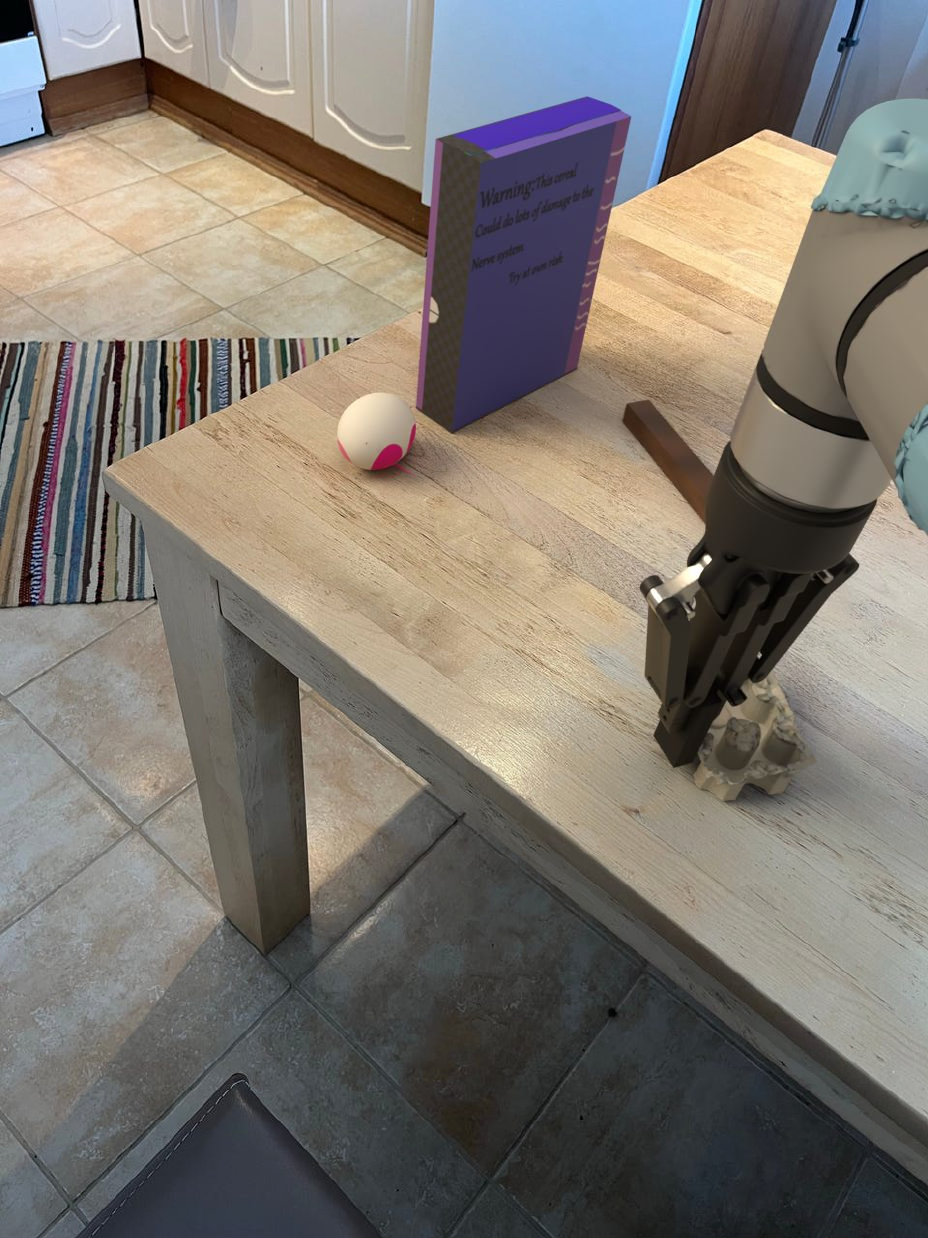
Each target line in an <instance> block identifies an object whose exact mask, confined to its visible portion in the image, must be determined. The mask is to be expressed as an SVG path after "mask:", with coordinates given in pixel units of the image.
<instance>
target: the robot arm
mask: <svg viewBox="0 0 928 1238" xmlns="http://www.w3.org/2000/svg"><path fill="white" fill-rule="evenodd" d="M839 147H840V148H839V150H838V152H837V154H836V157H835V159H834V162H833V164H832V166H831V168H830V171H829V173H828V176H827V177H826V181H824V182H825V183H824V185H823V187H822V189H821V191H820V193H819V194H817V196H815V197H814V198H813V199H812V203H811V205H810V209H811V213H810V215H809V217H808V221H807V224H806V227H805V229H804V231H803V234H802V235H803V236H802V238H801V241H800V244H799V246H798V248H797V252H796V254H795V257H794V260H793V263H792V265H791V268H790V271H789V273H788V277H787V279H786V282H785V285H784V287H783V291H782V293H781V296H780V299H779V302H778V304H777V307H776V310H775V313H774V315H773V318H772V321H771V324H770V326H769V329H768V332H767V335H766V338H765V340H764V343H763V348H762V350H761V351H760V352H761V353H760V355H759V358H758V360H757V363H756V366H755V368H754V370H753V373H752V375H751V378H750V381H749V384H748V385H747V389H746V391H745V394H744V396H743V399H742V401H741V403H740V408H739V410H738V412H737V415H736V417H735V421H734V422H733V426H732V428H731V431H730V434H729V436H730V439H729V441H728V442H727V443H726V444H725V446H724V448H723V451H722V453H721V456H720V458H719V460H718V463H717V466H716V468H715V472H714V474H713V475H714V476H713V479H712V482H711V484H710V487H709V490H708V492H707V495H706V499H705V523H704V524H705V525H704V526H705V527H704V533H703V535H702V537H701V539H700V540H699V541H698V542H697V543H696V544H695V546H694V547H693V548H692V550H690V552H689V554H688V556H687V559H686V568H685V569H683V570H682V571H680V572H679V573H677V574H676V575H674V576H672V577H671V578H669V579H668V580H666V581H665V582H664V581H663V580H662V578H661V577H660V576H659V575H658V574H657V575H656V574H653V575H650V576H647V577H646V578H645V579H644V580H642V581H641V583H640V584H639V586H638V587H639V591H640V592H641V594H642V596H643V598H644V599H645V601H646V603H647V604H648V606H647V607H648V608H647V623H646V639H645V640H646V643H645V658H644V659H645V660H644V678H645V679H646V681H647V682H648V684H649V686H650V688H651V689H652V691H654V693H655V695H656V696H657V697H658V700H660V702H661V705H660V707H659V709H658V712H657V716H658V719H659V721H658V723H657V726H656V727H655V731H654V732H653V735H652V736H653V738H654V740H655V741H656V743H657V744H658V746H659V748H660V749H661V751H662V753H663V755H665V757H666V759H667V760H668V761H669V764H670V765H671V766H672V768H673V769H677V768H681V767H682V766H686V765H689V764H691V763H692V764H693V763H694V761H695V758H696V757H697V756H698V751H699V749H700V747H701V745H702V743H703V741H704V739H705V737H706V735H707V733H708V730H709V728H710V726H711V724H712V722H713V720H715V719H716V718H717V717H718V716H719V715H720V713H721V711H722V709H723V707H724V705H725V703H726V701H728V702H729V704H730V705H731V706H732V707H735V706H738V705H740V704H742V703H743V702H744V701H746V699H747V698H748V697H747V696H746V695H745V693H744V692H743V691H742V689H741V687H742V685H743V683H744V681H746V680H748V679H750V680H751V682H752V683H759V682H760V681H763V680H764V679H765V678H766V677H767V676H768V675H769V673H770V672H771V671H772V670H773V669H774V668H775V667H776V666H777V664H778V663H779V662H780V661H781V659H782V658H783V657H784V655H785V654H787V652H788V651H789V649H790V648H791V647H792V645H793V644H794V643H795V641H796V640H797V639H798V637H800V635H801V634H802V633H803V631H804V630H805V628H806V627H807V626H808V625H809V623H811V621H812V620H813V618H814V617H815V616H816V615H817V613H818V612H819V611H820V609H821V608H822V607H823V605H824V604H825V603H826V602H827V601H828V600H829V598H830V597H831V595H832V594H834V593H835V591H837V590H838V589H839V588H840V587H841V586H842V585H844V583H846V582H847V581H848V580H849V579H850V578H851V577H852V576H853V575H854V574H855V573H856V572H857V571H858V570H859V568H860V563H859V562H858V561H857V560H856V558H854V557H853V555H852V554H851V551H852V550H853V547H854V546H855V544H856V542H857V540H858V539H859V537H860V535H861V533H862V531H863V530H864V528H865V526H866V524H867V523H868V521H869V519H870V517H871V515H872V513H873V512H874V510H875V507H876V505H877V503H878V499H879V498H881V496H882V495H883V494H884V493H885V491H886V490H887V489H888V488H889V485H890V483H891V482H893V484H894V486H895V487H896V490H897V497H898V499H899V500H900V501H901V502H902V504H903V505H902V507H903V509H904V510H905V511H906V513H907V515H908V517H909V520H910V521H911V522H912V523H914V524H915V526H916V528H917V529H918V530H920V531H923V532H924V533H925V534H926V536H927V537H928V99H927V98H901V99H893V100H888V101H883V102H881V103H878V104H876V105H873V106H872V107H869V108H867V109H866V110H865V111H864V112H862V113H861V114H859V115H858V116H857V117H856V118H855V119H854V121H853V122H852V123H851V124H850V126H849V128H848V130H847V131H846V134H845V136H844V138H843V140H842V143H841V145H840V146H839ZM694 603H695V606H694V607H693V605H694ZM759 654H760V656H761V657H760V658H759V657H758V656H757V655H759Z"/></svg>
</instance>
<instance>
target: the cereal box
mask: <svg viewBox="0 0 928 1238" xmlns="http://www.w3.org/2000/svg"><path fill="white" fill-rule="evenodd" d="M631 120H632V116H631V115H630V114H628V113H626V112H625V111H623V110H622V109H620V108H618V107H617V106H615V105H613V104H611V103H608V102H605V101H602V100H599V99H596V98H594V97H591V96H587V95H586V96H583V97H580V98H576V99H573V100H569V101H566V102H563V103H558V104H555V105H552V106H551V105H550V106H548V107H544V108H541V109H537V110H533V111H529V112H526V113H523V114H519V115H516V116H512V117H508V118H505V119H501V120H498V121H495V122H490V123H487V124H484V125H480V126H476V127H472V128H469V129H465V130H463V131H458V132H454V133H452V134H448V135H443V136H441V137H436V138H435V140H434V141H435V143H434V155H433V156H434V157H433V169H432V184H431V197H430V210H429V211H430V212H429V224H428V237H427V238H428V239H427V252H426V262H425V263H426V264H425V265H426V266H425V278H424V279H425V280H424V292H423V303H422V304H423V306H422V318H421V331H420V333H421V335H420V347H419V360H418V371H417V372H418V373H417V385H416V400H415V410H417V411H419V412H420V413H422V414H423V415H425V416H426V417H428V418H429V419H430V420H432V422H434V423H436V424H437V425H439V426H440V427H442V428H443V429H444V430H446V431H447V432H449V433H450V434H454V433H456V432H458V431H460V430H461V429H464V428H466V427H467V426H470V425H472V424H473V423H475V422H478V421H479V420H481V419H484V418H485V417H487V416H489V415H491V414H493V413H495V412H497V411H498V410H501V409H503V408H504V407H507V406H508V405H510V404H512V403H514V402H516V401H518V400H519V399H522V398H524V397H526V396H527V395H530V394H532V393H534V392H535V391H538V390H540V389H541V388H544V387H545V386H547V385H549V384H551V383H553V382H555V381H557V380H559V379H561V378H563V377H565V376H567V375H569V374H571V373H573V372H575V371H577V369H578V366H579V361H580V356H581V352H582V348H583V343H584V338H585V334H586V330H587V329H586V328H587V325H588V320H589V314H590V311H591V306H592V301H593V297H594V292H595V288H596V282H597V278H598V273H599V270H600V264H601V259H602V255H603V250H604V245H605V241H606V236H607V233H608V232H607V231H608V227H609V222H610V217H611V214H612V209H613V204H614V199H615V195H616V189H617V187H618V186H617V185H618V181H619V177H620V171H621V167H622V162H623V159H624V153H625V148H626V143H627V139H628V135H629V129H630V125H631Z"/></svg>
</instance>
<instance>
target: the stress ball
mask: <svg viewBox="0 0 928 1238" xmlns="http://www.w3.org/2000/svg"><path fill="white" fill-rule="evenodd" d="M412 408H413V405H411V406H410V405H409V404H408V403H407V402H406V401H405V400H404V399H403V398H401V397H399V396H397V395H395V394H393V393H389V392H371V393H367V394H365V395H363V396H361V397H359V398H358V399H356V400H354V401H353V402H352V403H351V404H350V405H349V406H348V407H347V408H346V409H345V411H344V412H343V413H342V415H341V417H340V420H339V422H338V426H337V431H336V438H337V444H338V447H339V450H340V452H341V454H342V455H343V456H344V458H345V459H346V461H348V462H349V463H350V464H352V465H353V466H355V467H357V468H360V469H362V470H368V471H376V470H383V469H386V468H389V467H392V466H395V467H396V468H398V469H400V470H402V471H405V472H407V473H408V474H411V475H413V473H412V472H410V471H408V470H407V469H405V468H404V467H402V466H401V465H399V464H397V463H398V462H399V461H400V460H401V459H402V458H404V457H405V456H406V455H407V454H408V452H409V450H410V449H411V448H412V446H413V443H414V441H415V439H416V433H417V421H416V416H415V414H414V412H413V410H412Z"/></svg>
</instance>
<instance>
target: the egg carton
mask: <svg viewBox="0 0 928 1238" xmlns="http://www.w3.org/2000/svg"><path fill="white" fill-rule="evenodd" d="M757 656H758V657H759V658H760V657H761V655H759V654H758V655H757ZM741 689H742V691H743V692H744V693H745V695H746V696H747V697H748V698H747V699H746V701H744V702H743V703H742V704H740V705H738V706H735V707H732V706H731V705H730V704H729V702H728V701H726V703H725V705H724V707H723V709H722V711H721V713H720V715H719V716H718V717H717V718H716V719H715V720H713V722H712V724H711V726H710V728H709V730H708V733H707V735H706V737H705V739H704V741H703V743H702V745H701V747H700V749H699V751H698V753H697V756H698V758H699V761H700V763H699V764H698V767H697V768H696V769H697V770H695V772H694V774H693V778H694V783H695V785H696V787H698V789H699V790H703V791H708V792H710V793H712V794H713V795H714V796H716V798H718V799H719V800H721V802H727V801H736V799H737V797H738V796H739V794H740V792H741V791H742V790H743V788H744V785H745V784H752V785H754V786H756V787H759V788H761V789H763V790H764V791H766V793H767V794H768V795H777V794H778V795H779V794H783V793H784V791H785V789H786V788H787V786H788V785H789V783H790V782H791V780H792V779H793V778H794V776H795V774H796V773H798V772H799V771H801V770H803V769H804V770H805V769H806V768H808V767H810V766H812V765H814V764H816V763H817V759H816V757H815V756H814V754H813V753H812V751H811V749H810V748H809V746H808V744H807V743H805V742H804V740H803V738H802V731H801V729H800V728H799V729H798V726H797V715H796V714H795V713H794V712H793V710H792V709H791V707H790V704H789V703H788V700H787V698H786V695H785V694H784V693H783V691H782V689H781V686H780V683H779V681H778V677H777V675H776V672H775V669H774V668H773V670H772V671H771V672H770V673H769V675H768V676H767V677H766V678H765V679H764V680H763V681H760V682H759V683H752V682H751V680H750V679H748V680H746V681H744V683H743V685H742V687H741Z"/></svg>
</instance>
